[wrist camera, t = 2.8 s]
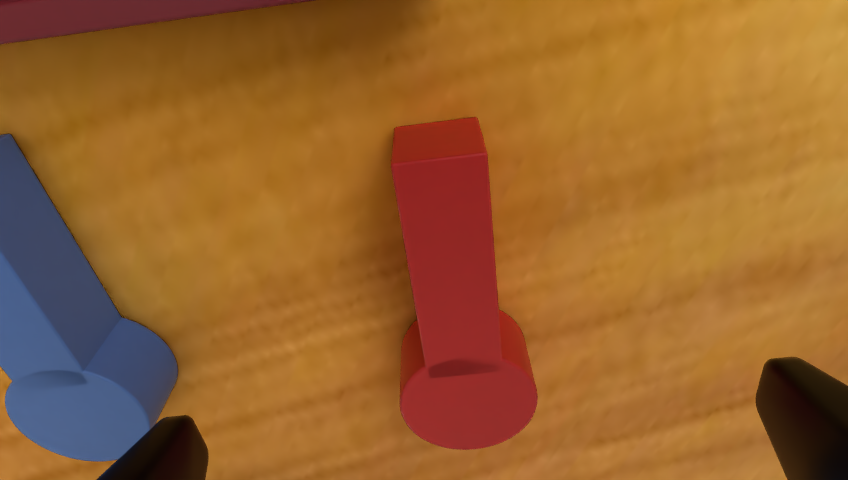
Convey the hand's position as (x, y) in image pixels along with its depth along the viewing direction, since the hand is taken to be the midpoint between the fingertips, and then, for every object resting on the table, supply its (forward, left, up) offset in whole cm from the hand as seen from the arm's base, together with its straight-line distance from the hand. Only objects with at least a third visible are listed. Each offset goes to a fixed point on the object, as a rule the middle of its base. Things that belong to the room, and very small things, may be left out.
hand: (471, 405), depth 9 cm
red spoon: (0, +1, -5) cm, 6 cm away
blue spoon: (+10, 0, -5) cm, 11 cm away
